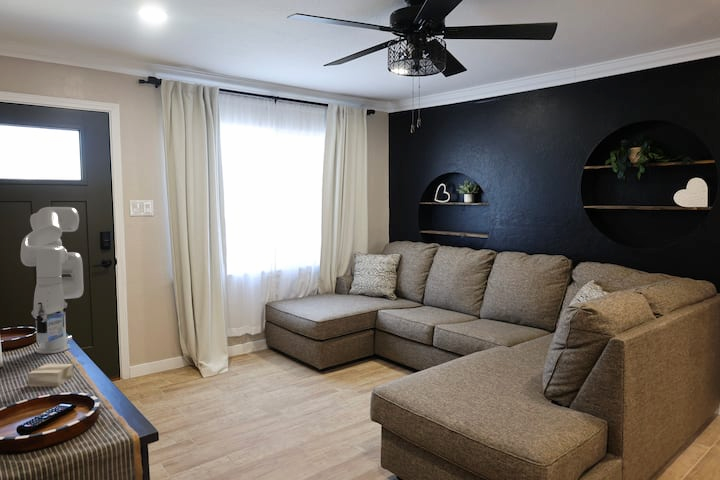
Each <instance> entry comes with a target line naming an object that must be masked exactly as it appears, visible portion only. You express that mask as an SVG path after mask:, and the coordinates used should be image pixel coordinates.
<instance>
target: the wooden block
mask: <svg viewBox="0 0 720 480" xmlns="http://www.w3.org/2000/svg"><path fill="white" fill-rule="evenodd" d="M74 366H75V365H74V363H44V364H42V365H41V366H39V367H37V368H35V369H34V370H32V371H30V372H28V373H27V376H28V378H27V379H28V380H27V381H28V387H60V386H62V384H64V383H66V382H67V381H69V380H70V379H71V378H73V377H74V376H75V370H74Z"/></svg>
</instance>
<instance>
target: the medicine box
mask: <svg viewBox="0 0 720 480" xmlns="http://www.w3.org/2000/svg"><path fill="white" fill-rule="evenodd" d="M42 318H43V316H42ZM45 322H47V333H37V322H36V321H35V333H36V334H35V335H36V342H38V343H40V342H50V341H53V340H55V339H57V338H60V337H63V314H61V313H52V314H49V315H47V318H46V320H45Z"/></svg>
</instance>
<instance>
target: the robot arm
mask: <svg viewBox="0 0 720 480" xmlns="http://www.w3.org/2000/svg"><path fill="white" fill-rule="evenodd" d="M29 222H30V227H31V229H32V231H30V232H29V233H28V234H27V235H25V237H23V239H22V241H21V247H20V262H21V263H22V264H23V265H24V266H25V267H36V284H35V289H34V296H33V309H32V311H31V312H30V313H31V315H32V317H33V319H34V320H35V323H36V322H37V333H47V322H45V320H46V318H47V315H49V314H52V313H61V314H63V337H60V338H57V339H55V340H53V341H50V342H39V344H40V345H39V346H38V347H36V349H35V352H36V353H37V354H42V355H44V354H45V355H46V354H47V355H49V354H58V353H62V352H66V351H68V350H70V348H71V344H69V343H68V342H69V341H71V340H72V339H73V337H72V335H68V336H67V330H66V329H67V327H66V321H67V320H66V311H67V307H68V302H66V300H68V299H79V298H81V297H82V296H83V294H84V288H85V287H84V266H83V264H84V263H83V258H82V256H81V254H80V253H79V252H74V251H71V252H70V251H69V252H68V250H67V249H66V248H65V246H63V242H62V239H61V237H62V236H63V233H68V232H69V233H71V232H76V231H77V230H78V228H79V224H80V215H79V212H78V210H77V209H76V208H75V207H70V206H46V207H42V208H40V209H39V210H38V211H37V212H36V213H33V214H31V215H30V219H29ZM62 275H70V276H64V277H63V276H62ZM42 316H43V318H42Z"/></svg>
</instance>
